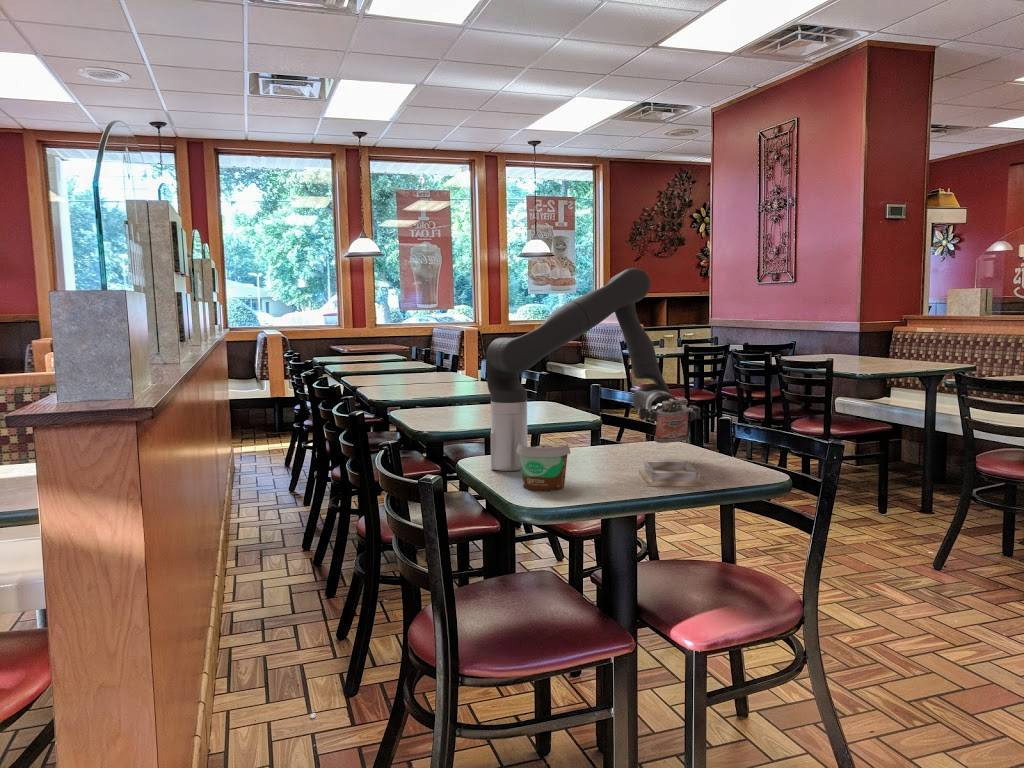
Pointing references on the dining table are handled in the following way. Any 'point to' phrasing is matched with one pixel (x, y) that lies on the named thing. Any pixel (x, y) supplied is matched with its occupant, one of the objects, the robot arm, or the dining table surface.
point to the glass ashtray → (670, 474)
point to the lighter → (672, 421)
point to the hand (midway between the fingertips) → (673, 416)
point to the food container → (543, 467)
